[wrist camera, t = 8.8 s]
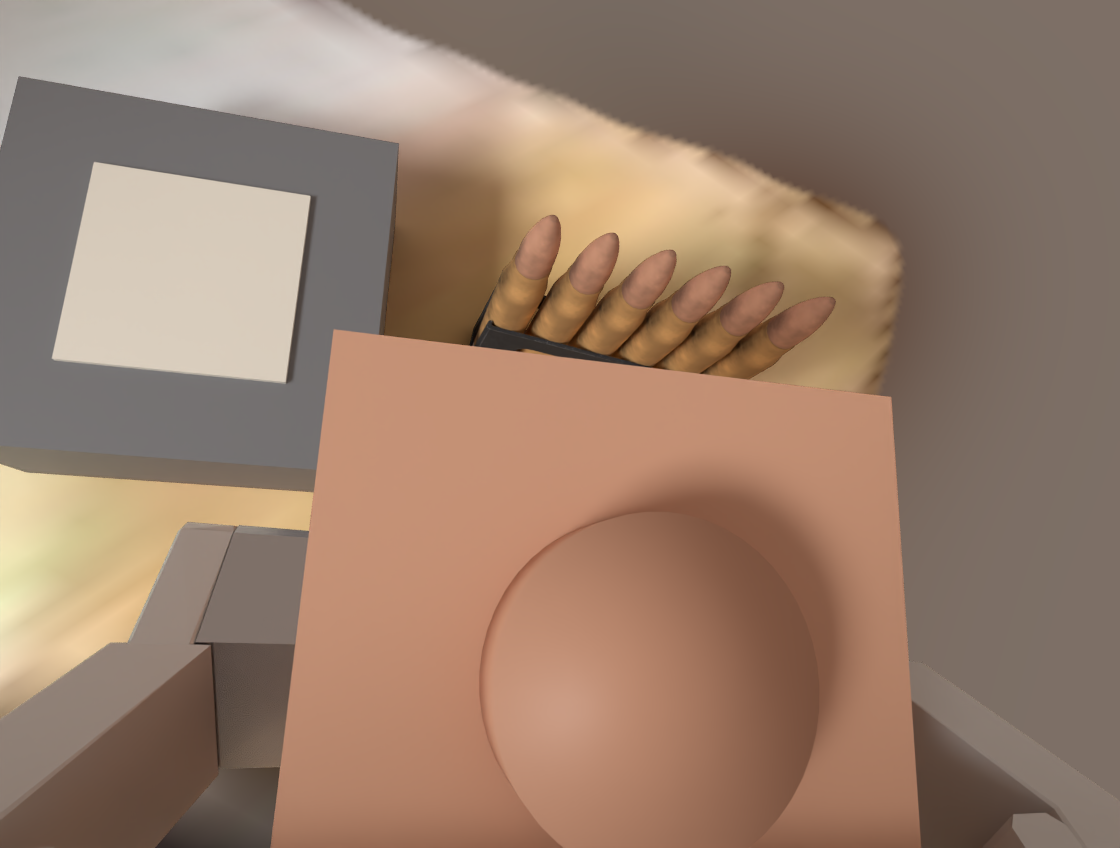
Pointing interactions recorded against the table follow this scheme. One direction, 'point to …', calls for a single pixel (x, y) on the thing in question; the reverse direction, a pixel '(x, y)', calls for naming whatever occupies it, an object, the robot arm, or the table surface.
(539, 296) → the ammunition clip
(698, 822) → the block
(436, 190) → the table surface
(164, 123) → the base block
